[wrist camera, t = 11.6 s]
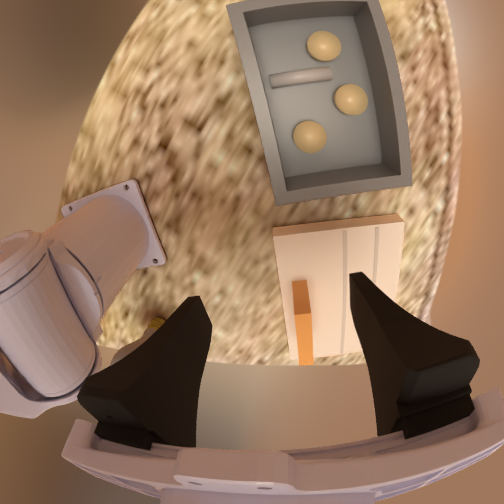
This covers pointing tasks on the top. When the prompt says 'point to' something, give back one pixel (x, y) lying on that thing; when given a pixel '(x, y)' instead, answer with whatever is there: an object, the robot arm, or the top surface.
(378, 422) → the robot arm
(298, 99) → the tub
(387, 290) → the lid
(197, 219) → the top surface
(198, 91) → the top surface
